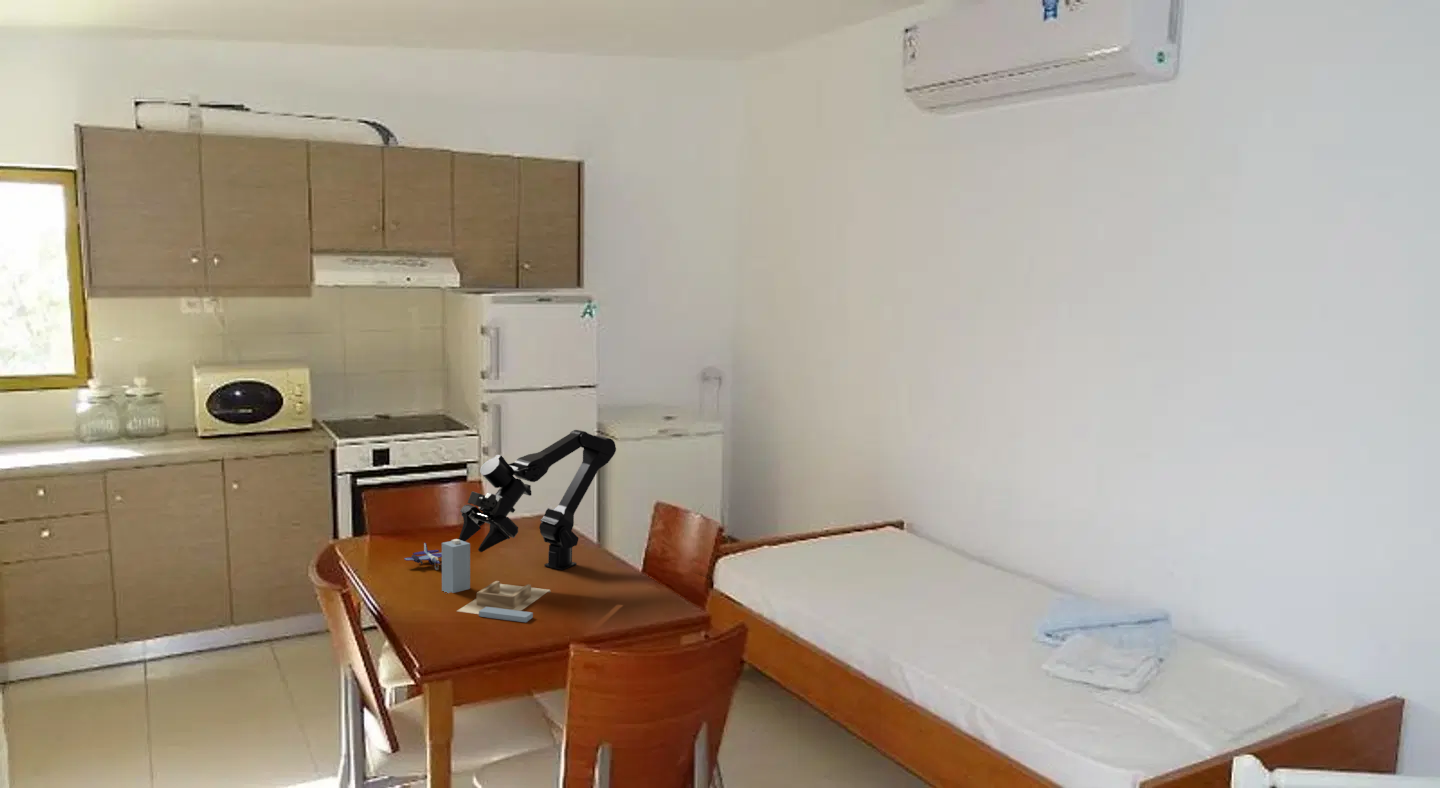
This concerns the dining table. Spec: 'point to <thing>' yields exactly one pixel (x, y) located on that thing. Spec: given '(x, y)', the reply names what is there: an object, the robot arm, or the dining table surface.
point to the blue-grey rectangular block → (455, 566)
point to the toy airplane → (426, 556)
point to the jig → (504, 597)
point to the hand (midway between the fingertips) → (469, 547)
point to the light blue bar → (505, 614)
